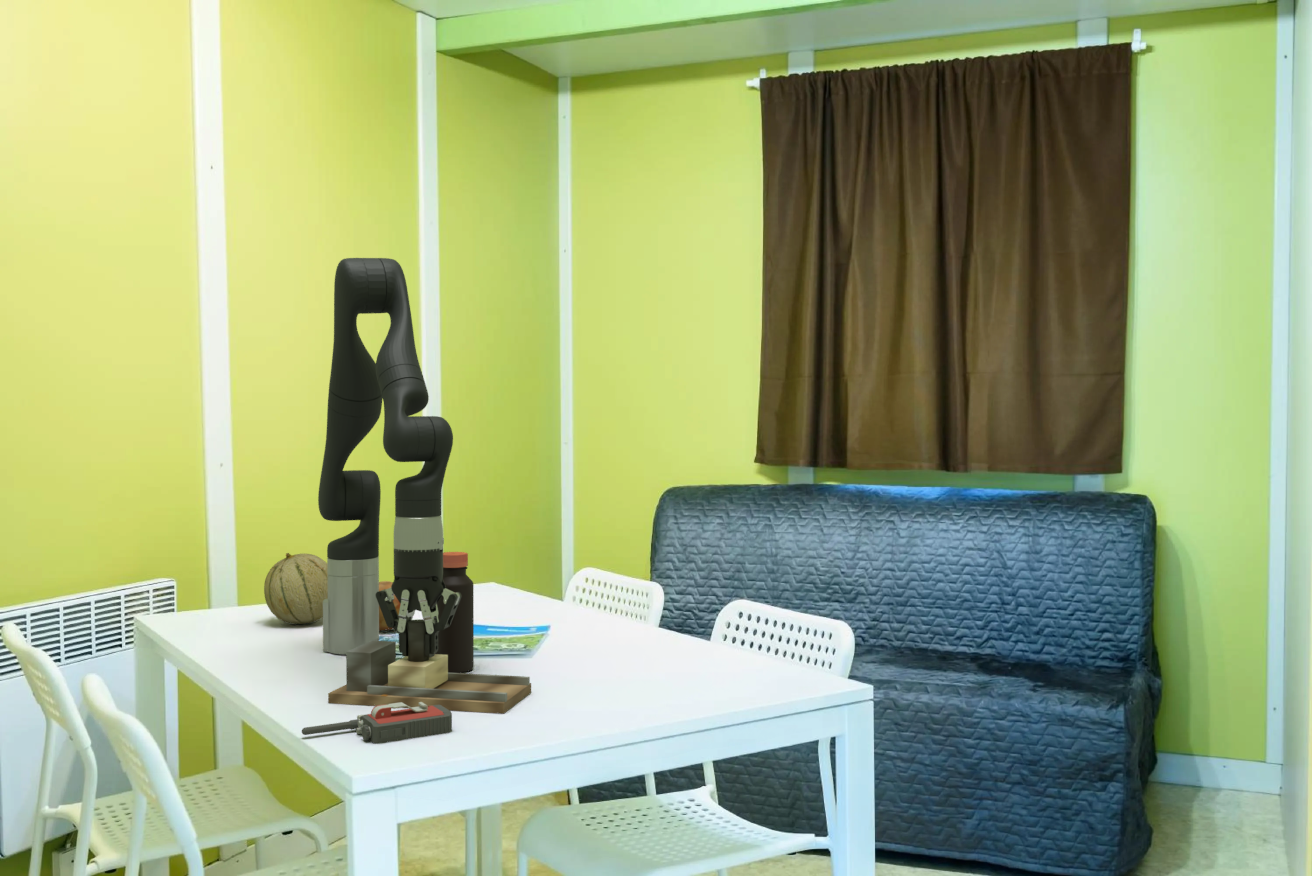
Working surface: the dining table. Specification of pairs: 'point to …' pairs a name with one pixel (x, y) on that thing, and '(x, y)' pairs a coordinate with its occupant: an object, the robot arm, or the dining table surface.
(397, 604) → the onion
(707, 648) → the dining table surface
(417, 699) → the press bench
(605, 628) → the dining table surface
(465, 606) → the bottle
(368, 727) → the walkie-talkie
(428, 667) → the block
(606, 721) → the dining table surface
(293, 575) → the cantaloupe
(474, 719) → the dining table surface
